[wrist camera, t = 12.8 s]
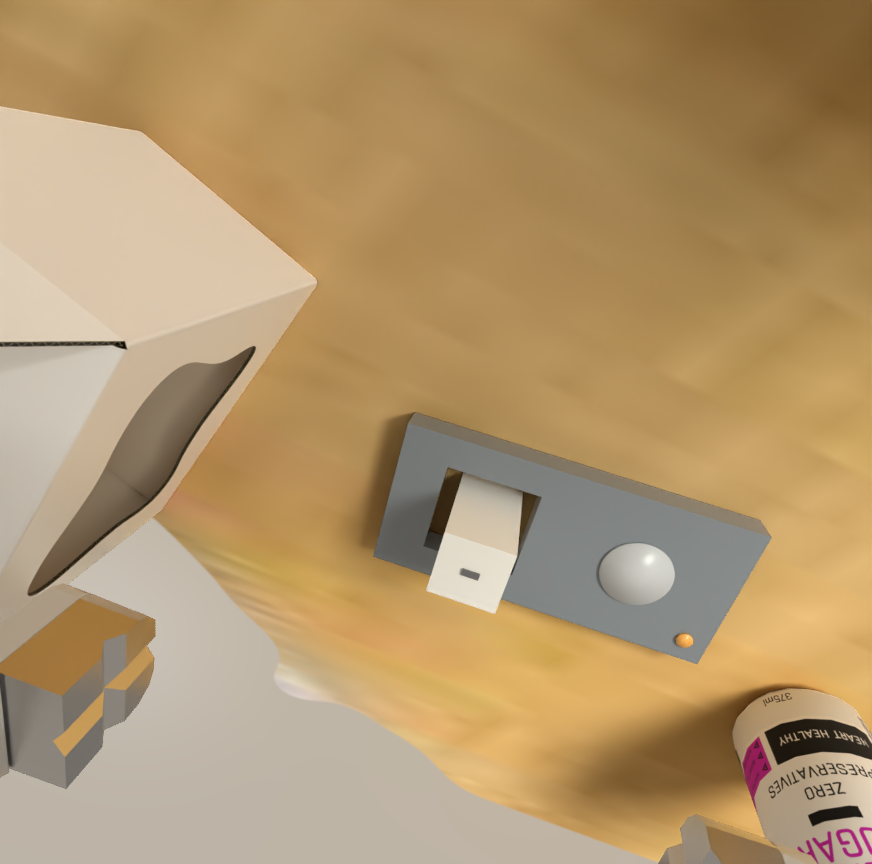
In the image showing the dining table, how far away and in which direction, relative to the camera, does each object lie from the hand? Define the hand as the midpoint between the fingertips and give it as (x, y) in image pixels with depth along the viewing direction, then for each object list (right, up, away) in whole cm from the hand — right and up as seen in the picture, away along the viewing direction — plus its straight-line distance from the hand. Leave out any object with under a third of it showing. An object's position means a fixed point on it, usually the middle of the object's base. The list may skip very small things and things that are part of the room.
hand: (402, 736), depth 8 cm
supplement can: (+25, -16, +32) cm, 44 cm away
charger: (+4, -1, +30) cm, 30 cm away
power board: (+8, -2, +29) cm, 31 cm away
